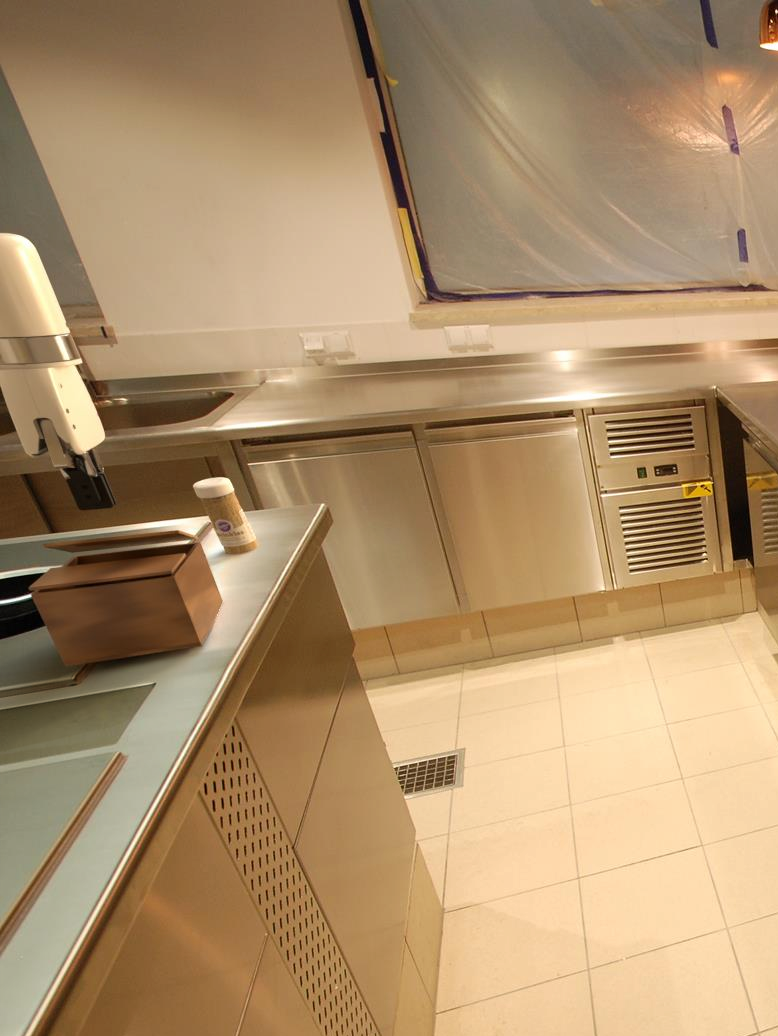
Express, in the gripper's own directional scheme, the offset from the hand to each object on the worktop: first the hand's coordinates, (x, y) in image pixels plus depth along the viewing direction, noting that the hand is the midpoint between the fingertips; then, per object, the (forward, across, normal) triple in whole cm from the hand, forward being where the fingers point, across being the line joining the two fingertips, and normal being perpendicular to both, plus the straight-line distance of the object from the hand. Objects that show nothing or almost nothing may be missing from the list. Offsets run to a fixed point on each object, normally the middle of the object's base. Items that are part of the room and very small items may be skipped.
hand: (98, 507), depth 103 cm
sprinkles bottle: (+17, -28, +6) cm, 33 cm away
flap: (+6, -4, 0) cm, 7 cm away
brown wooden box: (+17, 0, 0) cm, 17 cm away
